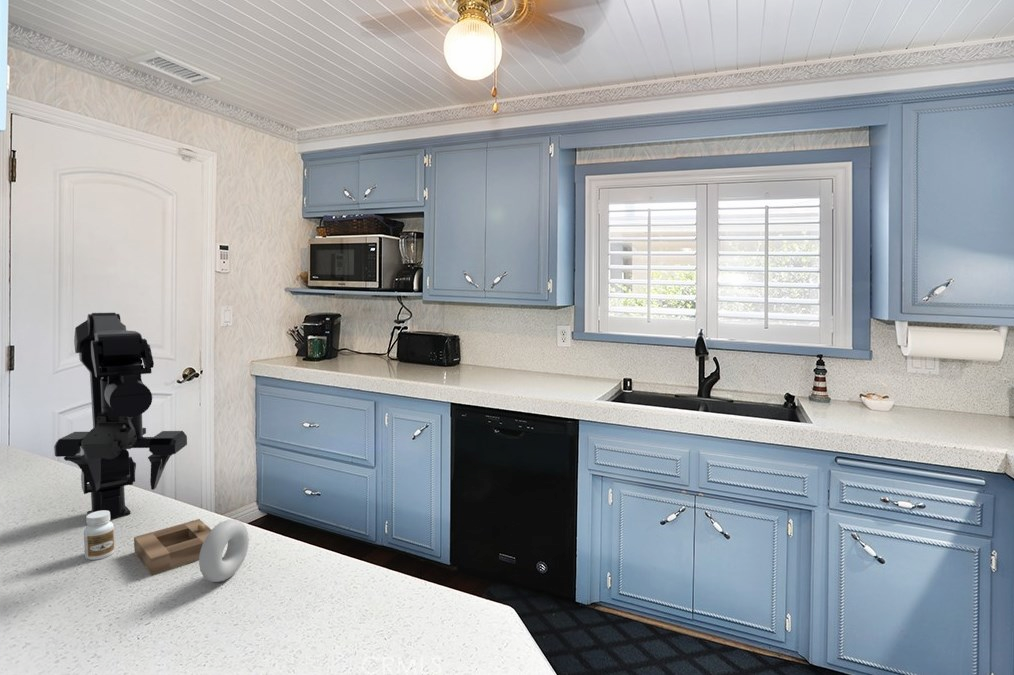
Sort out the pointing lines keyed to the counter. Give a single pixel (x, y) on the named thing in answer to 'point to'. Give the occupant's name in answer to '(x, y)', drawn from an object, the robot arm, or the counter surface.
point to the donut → (214, 545)
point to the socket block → (171, 546)
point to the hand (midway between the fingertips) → (125, 489)
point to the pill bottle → (99, 535)
